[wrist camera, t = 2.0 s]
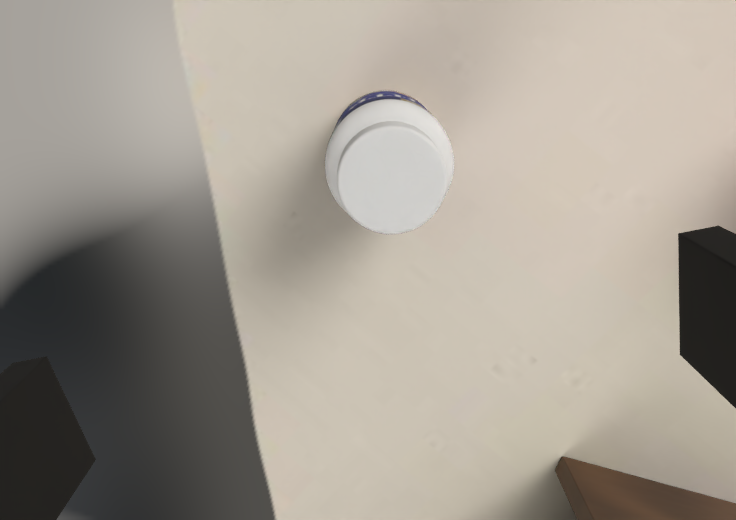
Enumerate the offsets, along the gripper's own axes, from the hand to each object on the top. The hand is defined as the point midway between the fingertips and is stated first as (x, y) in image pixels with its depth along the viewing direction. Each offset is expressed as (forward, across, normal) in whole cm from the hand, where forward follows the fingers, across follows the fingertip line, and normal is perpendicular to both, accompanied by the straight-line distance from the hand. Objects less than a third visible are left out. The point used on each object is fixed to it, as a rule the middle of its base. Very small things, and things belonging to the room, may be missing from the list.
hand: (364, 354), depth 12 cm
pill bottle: (+18, +1, +1) cm, 18 cm away
